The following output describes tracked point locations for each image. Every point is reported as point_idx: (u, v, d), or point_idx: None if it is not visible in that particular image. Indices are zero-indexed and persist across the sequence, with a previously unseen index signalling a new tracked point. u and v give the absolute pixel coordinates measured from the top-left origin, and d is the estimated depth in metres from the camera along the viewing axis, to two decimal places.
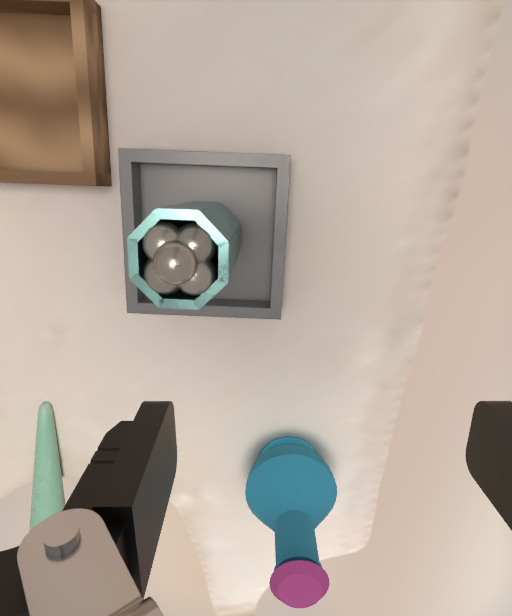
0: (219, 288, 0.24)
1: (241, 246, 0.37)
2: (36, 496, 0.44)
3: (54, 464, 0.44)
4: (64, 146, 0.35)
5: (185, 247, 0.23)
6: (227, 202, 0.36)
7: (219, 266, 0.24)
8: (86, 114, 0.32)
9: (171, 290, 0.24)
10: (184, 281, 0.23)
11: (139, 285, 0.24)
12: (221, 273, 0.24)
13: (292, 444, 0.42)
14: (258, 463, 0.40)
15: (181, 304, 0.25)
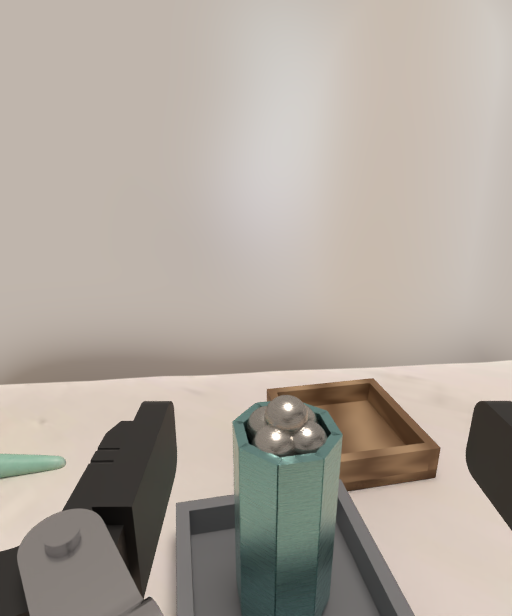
0: (268, 460, 0.21)
1: None
2: None
3: None
4: None
5: (306, 415, 0.23)
6: (332, 611, 0.27)
7: (294, 456, 0.21)
8: (355, 457, 0.37)
9: (255, 423, 0.23)
10: (273, 416, 0.22)
11: (251, 408, 0.25)
12: (286, 459, 0.21)
13: None
14: None
15: (240, 435, 0.23)
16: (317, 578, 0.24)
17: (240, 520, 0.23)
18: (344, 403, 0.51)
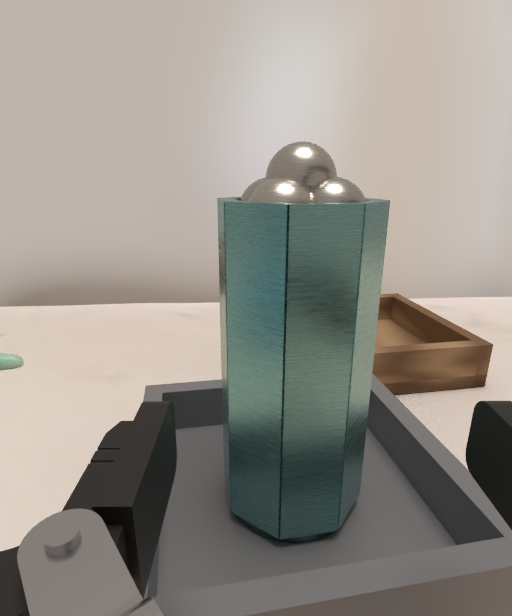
0: (273, 203, 0.12)
1: (288, 550, 0.16)
2: None
3: None
4: None
5: (333, 166, 0.14)
6: (364, 510, 0.18)
7: (314, 202, 0.13)
8: (383, 350, 0.29)
9: (252, 190, 0.15)
10: (279, 161, 0.14)
11: None
12: (303, 203, 0.13)
13: None
14: None
15: (228, 200, 0.14)
16: (347, 438, 0.15)
17: (227, 342, 0.15)
18: None
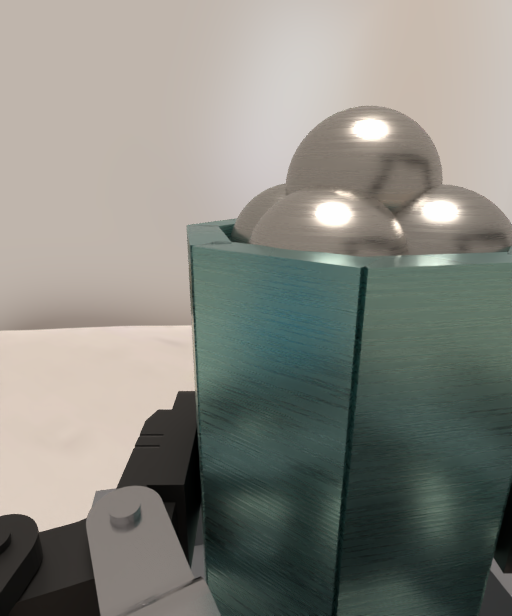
0: (316, 260, 0.05)
1: None
2: None
3: None
4: None
5: None
6: None
7: (423, 255, 0.05)
8: None
9: (256, 212, 0.07)
10: (321, 148, 0.06)
11: None
12: (395, 259, 0.05)
13: None
14: None
15: (205, 235, 0.07)
16: None
17: (206, 530, 0.07)
18: None
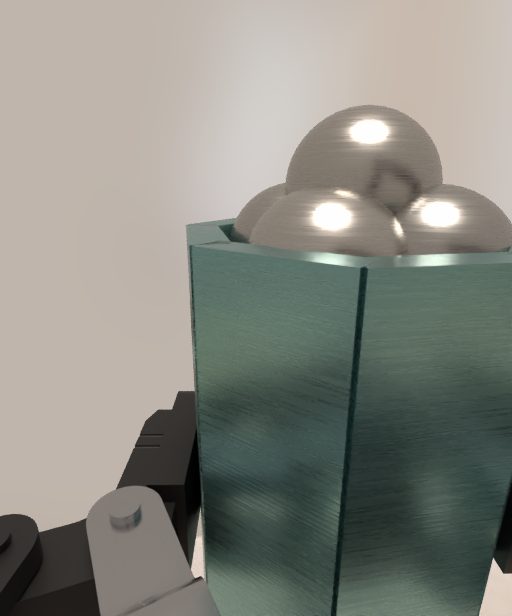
0: (315, 260, 0.05)
1: None
2: None
3: None
4: None
5: None
6: None
7: (422, 255, 0.05)
8: None
9: (256, 212, 0.07)
10: (321, 147, 0.06)
11: None
12: (395, 260, 0.05)
13: None
14: None
15: (205, 235, 0.07)
16: None
17: (205, 530, 0.07)
18: None
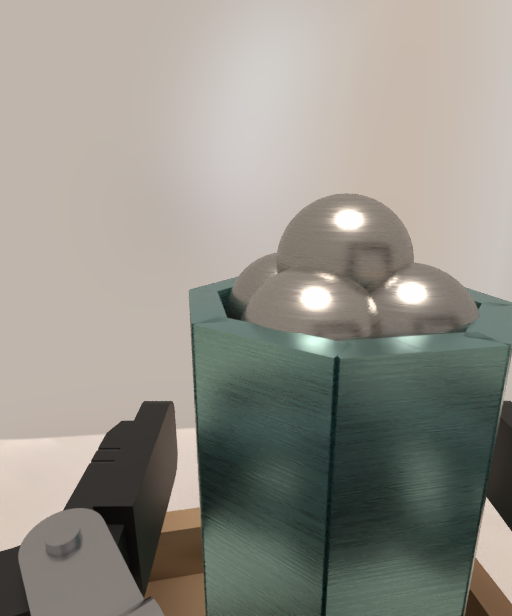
0: (298, 346, 0.05)
1: None
2: None
3: None
4: None
5: (409, 241, 0.07)
6: None
7: (390, 339, 0.06)
8: None
9: (250, 282, 0.08)
10: (306, 234, 0.07)
11: None
12: (366, 345, 0.06)
13: None
14: None
15: (205, 306, 0.07)
16: None
17: (206, 573, 0.08)
18: None
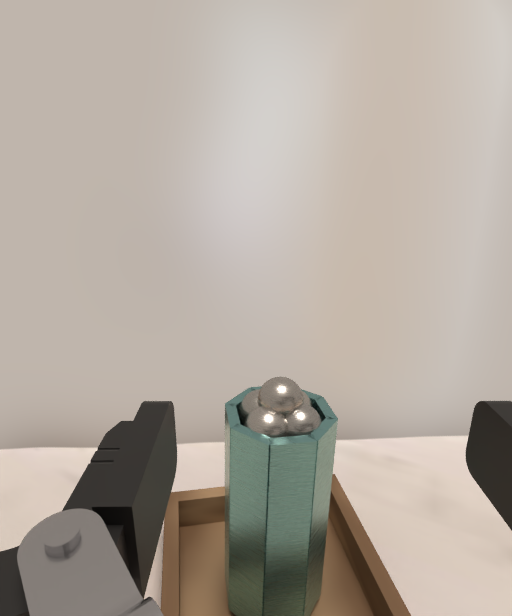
0: (260, 440, 0.20)
1: None
2: None
3: None
4: None
5: (301, 397, 0.22)
6: None
7: (286, 437, 0.20)
8: None
9: (248, 405, 0.23)
10: (266, 397, 0.22)
11: (245, 392, 0.25)
12: (279, 439, 0.20)
13: None
14: None
15: (232, 416, 0.22)
16: (308, 570, 0.23)
17: (230, 506, 0.23)
18: None
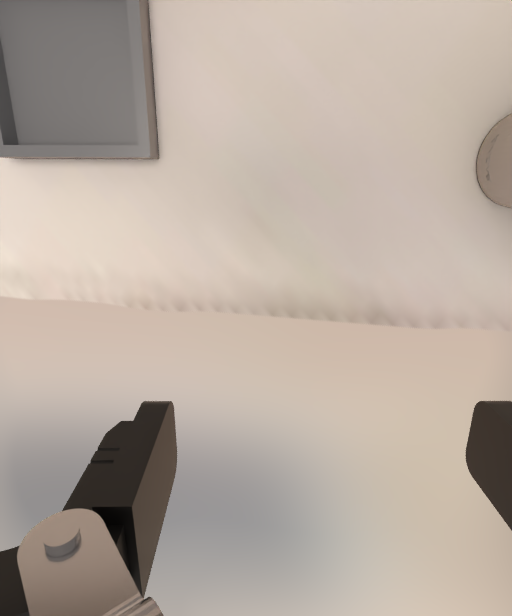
0: None
1: (68, 113, 0.37)
2: None
3: None
4: None
5: None
6: (108, 97, 0.37)
7: None
8: None
9: None
10: None
11: None
12: None
13: None
14: None
15: None
16: None
17: None
18: None
